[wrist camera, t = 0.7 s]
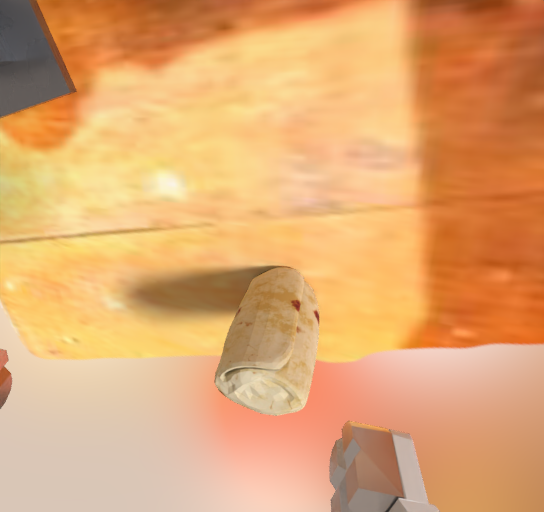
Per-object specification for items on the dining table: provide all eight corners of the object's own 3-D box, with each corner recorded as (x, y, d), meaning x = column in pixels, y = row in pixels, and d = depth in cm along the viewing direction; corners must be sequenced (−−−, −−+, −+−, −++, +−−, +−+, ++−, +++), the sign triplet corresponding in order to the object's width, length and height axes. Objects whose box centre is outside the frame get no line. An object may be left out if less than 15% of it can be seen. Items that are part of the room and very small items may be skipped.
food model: (247, 296, 56) (201, 409, 38) (256, 254, 53) (211, 355, 35) (316, 314, 55) (303, 437, 38) (330, 273, 52) (321, 386, 35)
